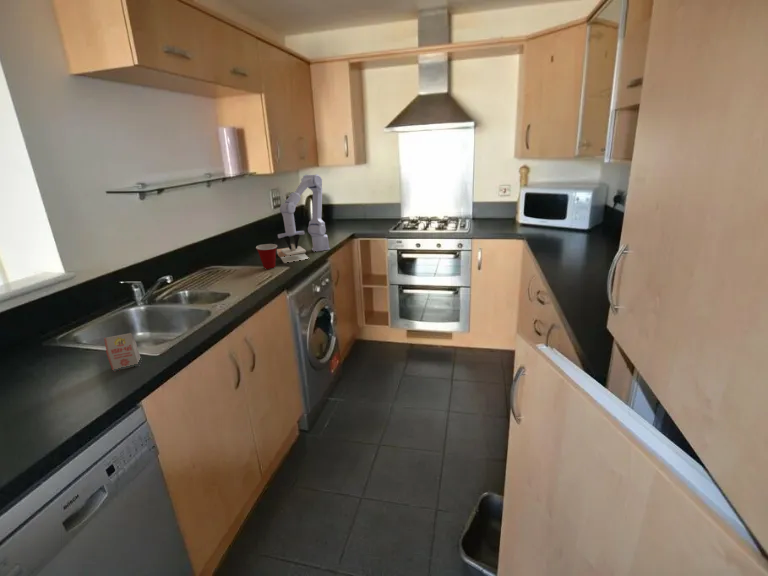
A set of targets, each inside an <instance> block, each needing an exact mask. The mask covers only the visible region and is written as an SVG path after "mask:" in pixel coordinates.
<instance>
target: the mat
mask: <svg viewBox="0 0 768 576" xmlns="http://www.w3.org/2000/svg"><path fill="white" fill-rule="evenodd" d="M308 258H309V257H308V255H306V252H304V253H298V254H295V255H291V256H285V257H280V260H281V261H282V263H283V264H288V263H287V262H289V263H294V262H293V261H295V262H300V261H299V260H301V261H306V260H305V259H308ZM308 260H309V259H308Z"/></svg>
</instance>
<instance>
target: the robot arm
mask: <svg viewBox="0 0 768 576" xmlns="http://www.w3.org/2000/svg"><path fill="white" fill-rule="evenodd" d="M300 181H301V182H300V184H299V185H298V187H297V188H296V190H295V192H294V191H293V192H291V193H290V194H289V196H288V197H287V198H286V200H285V202H282V203H281V204H280V206H279V212H280V213H281V215H282V219H283V224H284V231H285V232H284V233H283V232H282V233H278V234H277V238H278V239H281V238H283V239H284V241H285V242H286V244H287V246H288V247H287V248H289V249H290V250H291V244H292V243H291V237H293V241H294V244H295V248H296V249H297V246H299V245H298V244H299V239H300V238H301V237H300V235H301V236H302V235H305V230H296V228H297V227H296V222H295V221H296V220H295V215H294V214H295V211H296V207H297V205H298V203H299V202H300V201H301V196H302V194H304V192H305V191H306V190H307V189H309V190H310V191H311V192H312V207H311V208H312V211H311V212H312V213H311V219H310V220H309V222H308V227H307V232H308V234H310V237H311V243H312V248H311V250H312V251H313V252H314V253H315V251H316V252H322V251H328V250H330V244H329V243H330V242H329V238H328V234H326V233H327V232H326V231H327V229H326V222H325V221H324V220H323V219H322V212H323V211H322V210H323V179H322V177H321V176H320V175H319V174H305V175H303V176H302V177H301V179H300Z"/></svg>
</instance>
